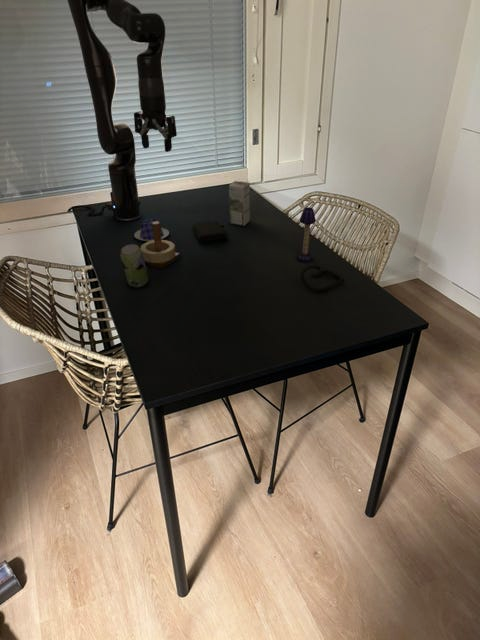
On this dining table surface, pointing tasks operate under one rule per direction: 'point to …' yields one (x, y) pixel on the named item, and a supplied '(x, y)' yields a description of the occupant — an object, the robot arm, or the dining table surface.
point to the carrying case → (209, 231)
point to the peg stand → (160, 247)
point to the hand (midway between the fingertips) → (157, 149)
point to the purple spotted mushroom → (306, 232)
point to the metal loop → (319, 275)
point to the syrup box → (239, 202)
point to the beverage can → (134, 265)
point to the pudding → (149, 231)
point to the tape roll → (158, 256)
